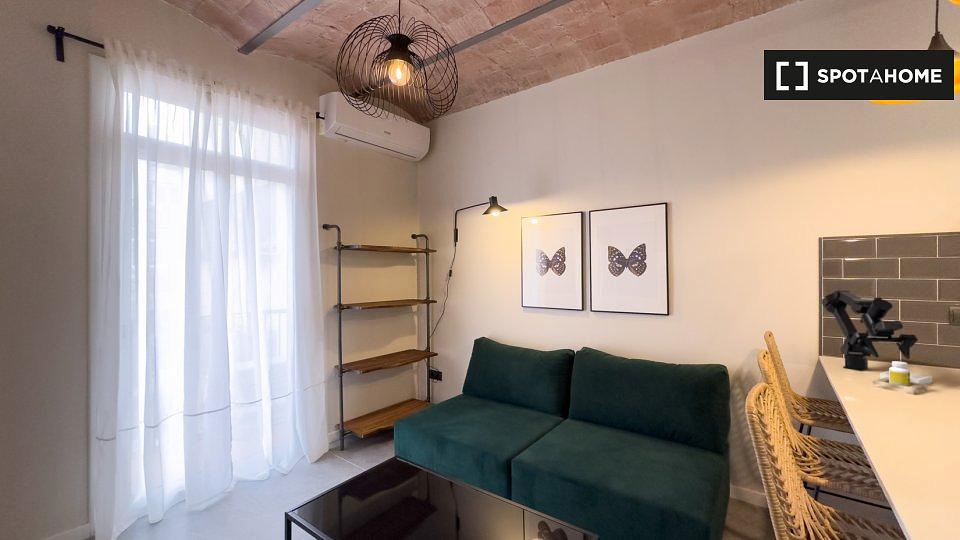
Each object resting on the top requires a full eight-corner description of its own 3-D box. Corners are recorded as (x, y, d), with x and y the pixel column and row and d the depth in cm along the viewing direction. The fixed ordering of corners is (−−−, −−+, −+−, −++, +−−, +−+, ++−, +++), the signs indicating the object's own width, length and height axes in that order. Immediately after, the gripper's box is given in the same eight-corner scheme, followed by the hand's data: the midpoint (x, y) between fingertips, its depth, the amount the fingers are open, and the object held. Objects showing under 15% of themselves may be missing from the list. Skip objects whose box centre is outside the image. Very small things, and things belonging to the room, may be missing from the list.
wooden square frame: (872, 386, 150) (872, 381, 150) (886, 382, 154) (886, 377, 154) (913, 394, 140) (913, 389, 140) (927, 390, 144) (927, 384, 144)
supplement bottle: (912, 391, 143) (911, 364, 143) (890, 388, 146) (890, 362, 146) (908, 387, 147) (907, 361, 147) (887, 385, 151) (887, 360, 150)
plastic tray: (880, 379, 158) (880, 373, 158) (893, 375, 162) (893, 369, 162) (919, 386, 148) (919, 380, 148) (932, 382, 152) (931, 376, 152)
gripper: (854, 312, 158) (870, 344, 148) (914, 313, 152) (936, 347, 142) (843, 329, 166) (859, 360, 155) (900, 330, 159) (920, 363, 149)
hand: (892, 357), depth 150 cm, fingers open, 9 cm apart
